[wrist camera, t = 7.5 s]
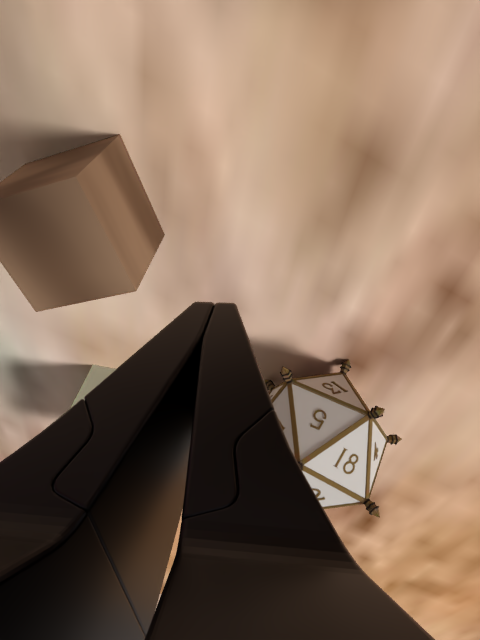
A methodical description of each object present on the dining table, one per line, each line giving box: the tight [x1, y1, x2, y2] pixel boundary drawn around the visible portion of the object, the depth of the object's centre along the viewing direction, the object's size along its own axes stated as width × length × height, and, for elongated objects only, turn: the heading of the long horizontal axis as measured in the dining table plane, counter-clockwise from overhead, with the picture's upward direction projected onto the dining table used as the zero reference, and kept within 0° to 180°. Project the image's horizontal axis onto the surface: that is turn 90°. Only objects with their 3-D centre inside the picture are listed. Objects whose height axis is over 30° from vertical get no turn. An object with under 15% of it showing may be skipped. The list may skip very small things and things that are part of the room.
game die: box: [265, 360, 401, 518], centre depth 25 cm, size 9×8×10 cm
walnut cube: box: [0, 134, 165, 312], centre depth 20 cm, size 5×5×5 cm
